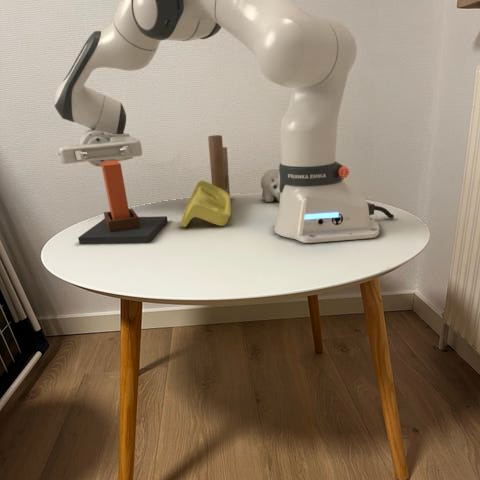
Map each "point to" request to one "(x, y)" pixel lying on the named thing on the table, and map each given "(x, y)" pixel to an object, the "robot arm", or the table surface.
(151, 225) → the base pad
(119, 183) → the orange rectangular block
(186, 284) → the table surface
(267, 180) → the round bodied animal figurine
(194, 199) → the plastic component
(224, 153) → the wooden block
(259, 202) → the table surface
